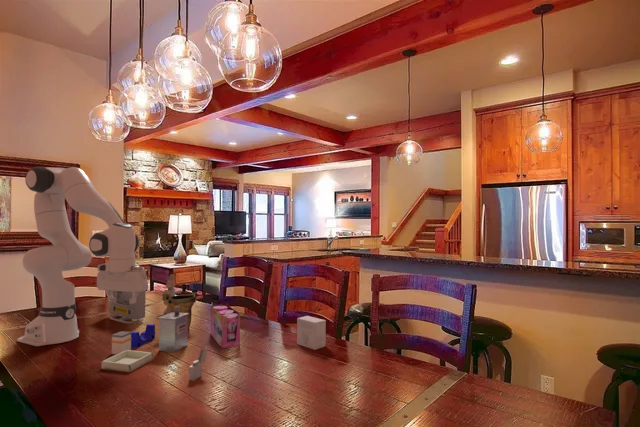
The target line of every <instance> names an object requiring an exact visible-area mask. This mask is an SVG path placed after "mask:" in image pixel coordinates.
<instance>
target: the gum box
mask: <svg viewBox="0 0 640 427" xmlns="http://www.w3.org/2000/svg"><path fill="white" fill-rule="evenodd" d="M209 313H210V336H212V338H213V339H214V341H216V343H217V344H218V345H219V347H220V348H221V349H227V348H235V347H240V346H241V317H240V316H241V314H240V312H239V311H237V310H235V309H234V308H232V306H230V305H229V304H228V303H220V304H218V303H217V304H211V305H210V312H209Z"/></svg>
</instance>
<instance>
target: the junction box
mask: <svg viewBox="0 0 640 427" xmlns="http://www.w3.org/2000/svg"><path fill="white" fill-rule="evenodd" d="M188 315H189V313H180V306H175V312H171V313H167V314H164V315H162V316H158V317H157V320H158V351H160V352H166V353H167V352H168V353H169V352H170V353H177V352H179V351H180V350H181V349H183V348H185V347H187V346H188V336H189V335H188V334H189V333H188V331H189V330H188Z"/></svg>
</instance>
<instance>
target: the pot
mask: <svg viewBox="0 0 640 427" xmlns="http://www.w3.org/2000/svg"><path fill="white" fill-rule="evenodd" d="M197 295H198V294H197V292H196V291H194V292H193V293H190V294H177V295H176V294H175V296H172V297H170V295H169V293H164V294H163V296H162V298H163V300H162V301H163V304H164V305H169V306H170V308H171V310H172V312H175V306H180V313H189V315H188V331H189V330H190V326H191V323H192V308H193V306H194V304H195V303H196V301H197V298H198V297H197Z"/></svg>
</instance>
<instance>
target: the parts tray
mask: <svg viewBox="0 0 640 427" xmlns="http://www.w3.org/2000/svg"><path fill="white" fill-rule="evenodd" d="M151 361H154V353H153V352H149V351H141V350H132V349H131V350H125V351H123V352H121V353H119V354H113V355H112V356H110V357H108V358H105V359H104V360H102V361H101V370H109V371H117V372H125V373H131V372H133V371H135V370H136V369H138V368H140V367H143V366H144V365H146V364H147V363H150V362H151Z"/></svg>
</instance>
